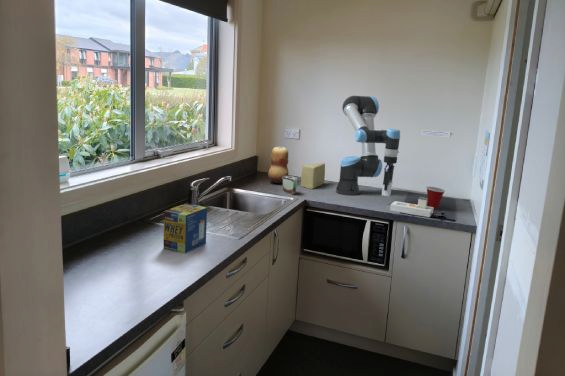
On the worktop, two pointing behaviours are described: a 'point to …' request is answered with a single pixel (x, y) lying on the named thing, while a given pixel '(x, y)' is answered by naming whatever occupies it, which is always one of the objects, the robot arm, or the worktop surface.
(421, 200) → the beige plug
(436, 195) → the plastic cup
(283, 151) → the butternut squash
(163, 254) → the worktop surface
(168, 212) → the protein box
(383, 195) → the grey plug
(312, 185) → the cheese
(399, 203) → the power strip
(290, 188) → the food container
